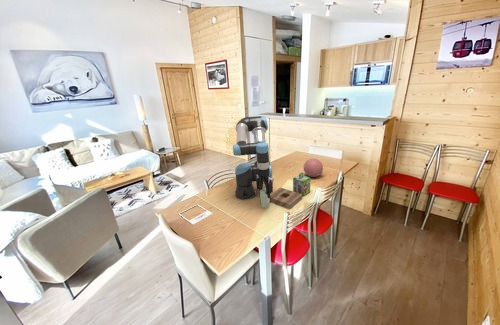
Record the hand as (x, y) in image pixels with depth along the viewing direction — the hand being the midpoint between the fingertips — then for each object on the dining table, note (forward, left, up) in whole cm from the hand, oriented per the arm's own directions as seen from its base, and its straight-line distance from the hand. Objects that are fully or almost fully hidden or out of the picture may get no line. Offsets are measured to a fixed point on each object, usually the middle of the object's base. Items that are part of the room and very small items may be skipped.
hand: (265, 200), depth 138 cm
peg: (0, 0, -4) cm, 4 cm away
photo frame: (-31, -34, -5) cm, 46 cm away
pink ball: (+4, +62, -4) cm, 62 cm away
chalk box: (+10, +30, -4) cm, 32 cm away
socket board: (+6, +14, -4) cm, 16 cm away
